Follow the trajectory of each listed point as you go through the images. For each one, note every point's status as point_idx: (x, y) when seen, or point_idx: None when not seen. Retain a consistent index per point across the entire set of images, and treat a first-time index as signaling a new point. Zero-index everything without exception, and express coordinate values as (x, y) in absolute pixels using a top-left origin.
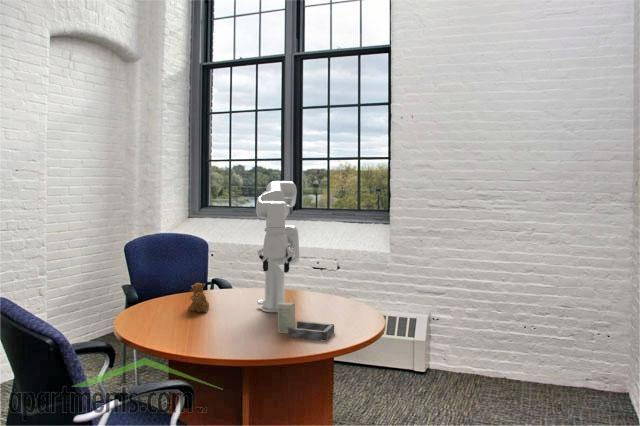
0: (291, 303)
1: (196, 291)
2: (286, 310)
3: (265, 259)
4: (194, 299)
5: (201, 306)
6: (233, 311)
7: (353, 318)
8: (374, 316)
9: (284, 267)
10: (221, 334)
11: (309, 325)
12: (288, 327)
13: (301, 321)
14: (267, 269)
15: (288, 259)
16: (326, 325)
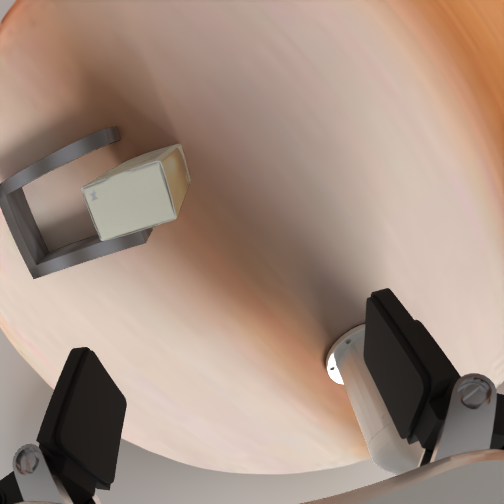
0: (102, 218)
1: None
2: (115, 171)
3: (442, 432)
4: None
5: None
6: (460, 268)
7: None
8: None
9: (64, 393)
10: (353, 17)
11: (96, 240)
12: (130, 160)
13: (128, 243)
14: (368, 354)
15: (19, 494)
16: (45, 261)
